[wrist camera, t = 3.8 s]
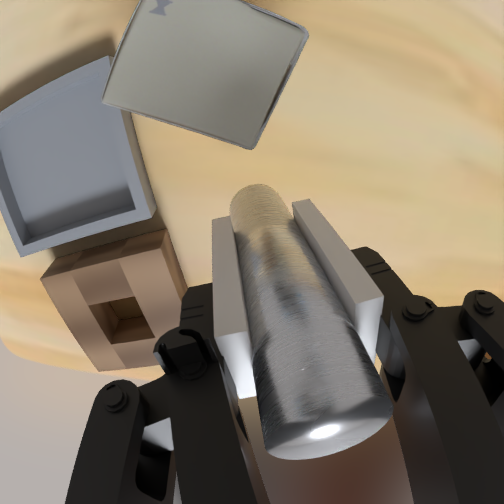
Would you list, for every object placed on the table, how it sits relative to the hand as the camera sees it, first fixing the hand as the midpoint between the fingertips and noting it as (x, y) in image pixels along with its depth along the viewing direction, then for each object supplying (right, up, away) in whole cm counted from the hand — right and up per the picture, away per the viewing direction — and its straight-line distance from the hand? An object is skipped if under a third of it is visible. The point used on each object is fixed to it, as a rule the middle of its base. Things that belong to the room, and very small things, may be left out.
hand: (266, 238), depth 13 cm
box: (-3, +10, +4) cm, 11 cm away
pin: (0, +2, +3) cm, 3 cm away
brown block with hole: (-10, -4, +10) cm, 15 cm away
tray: (-14, +6, +4) cm, 15 cm away
